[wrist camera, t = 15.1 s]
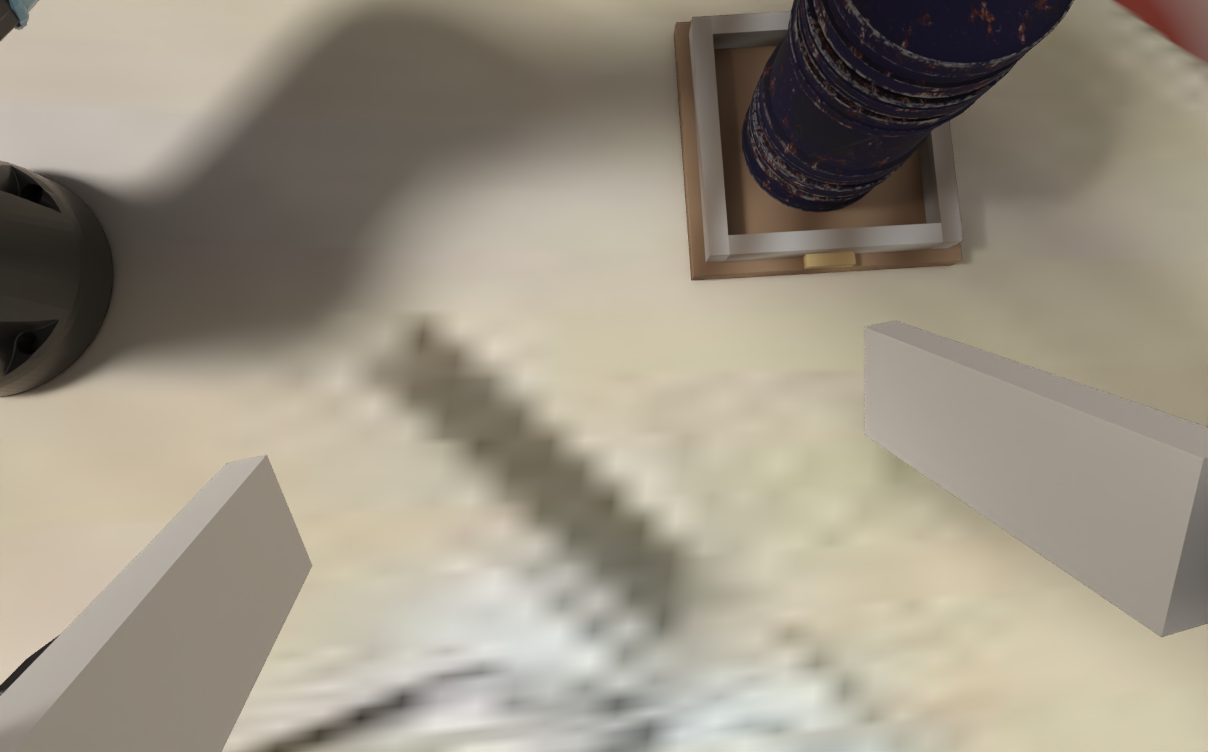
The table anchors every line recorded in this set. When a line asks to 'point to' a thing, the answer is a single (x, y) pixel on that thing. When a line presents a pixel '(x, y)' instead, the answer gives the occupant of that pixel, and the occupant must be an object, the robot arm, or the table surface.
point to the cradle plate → (762, 224)
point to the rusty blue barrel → (875, 87)
